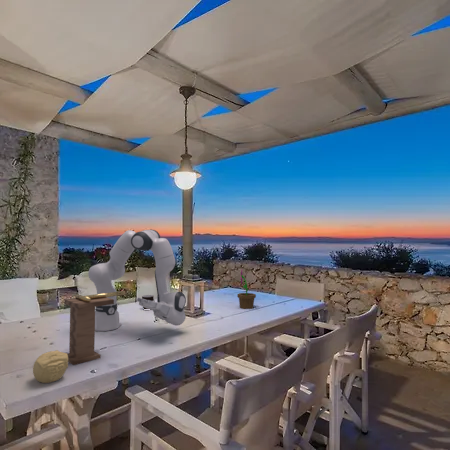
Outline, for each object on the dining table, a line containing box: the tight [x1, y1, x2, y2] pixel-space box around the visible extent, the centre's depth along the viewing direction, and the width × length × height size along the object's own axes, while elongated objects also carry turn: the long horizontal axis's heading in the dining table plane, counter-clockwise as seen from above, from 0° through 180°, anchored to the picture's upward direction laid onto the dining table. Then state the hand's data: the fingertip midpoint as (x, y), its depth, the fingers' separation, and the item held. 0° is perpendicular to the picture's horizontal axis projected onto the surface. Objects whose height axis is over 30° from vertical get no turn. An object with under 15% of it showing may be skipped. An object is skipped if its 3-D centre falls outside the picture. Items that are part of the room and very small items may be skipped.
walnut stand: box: [64, 297, 114, 366], centre depth 155 cm, size 16×17×26 cm
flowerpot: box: [236, 269, 257, 310], centre depth 262 cm, size 14×14×30 cm
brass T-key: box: [74, 290, 126, 302], centre depth 161 cm, size 14×22×2 cm, turn 136°
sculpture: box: [32, 349, 69, 384], centre depth 130 cm, size 11×12×11 cm
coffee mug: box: [141, 294, 156, 309], centre depth 252 cm, size 12×9×10 cm
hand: (142, 300), depth 177 cm, fingers open, 8 cm apart
